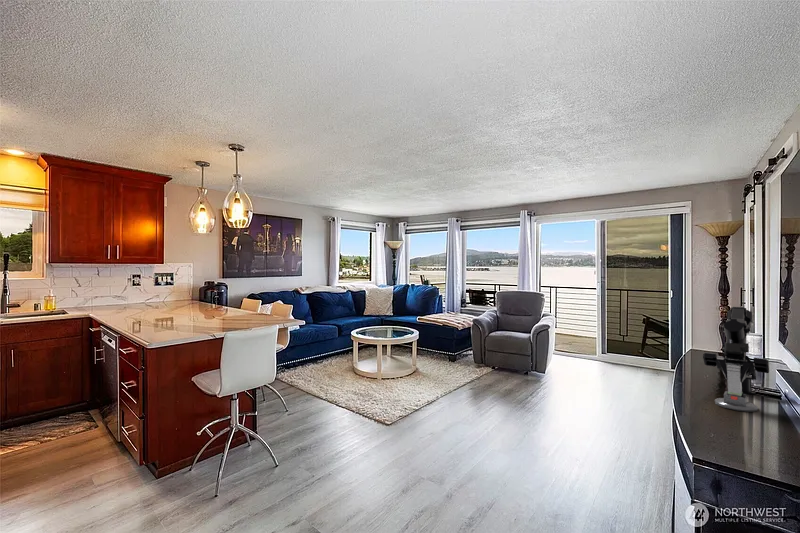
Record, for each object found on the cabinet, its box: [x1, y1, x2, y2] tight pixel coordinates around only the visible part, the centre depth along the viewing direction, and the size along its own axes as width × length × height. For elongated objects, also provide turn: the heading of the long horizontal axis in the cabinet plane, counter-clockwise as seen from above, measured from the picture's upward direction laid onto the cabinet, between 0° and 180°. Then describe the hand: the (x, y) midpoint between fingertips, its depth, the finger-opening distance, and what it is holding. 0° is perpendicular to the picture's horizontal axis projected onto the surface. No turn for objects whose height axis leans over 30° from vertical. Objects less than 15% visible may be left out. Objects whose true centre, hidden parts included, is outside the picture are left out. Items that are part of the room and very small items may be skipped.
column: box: [727, 363, 742, 397], centre depth 139 cm, size 4×4×12 cm
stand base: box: [714, 390, 759, 413], centre depth 138 cm, size 12×12×4 cm
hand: (734, 380), depth 138 cm, fingers closed on column, 4 cm apart
